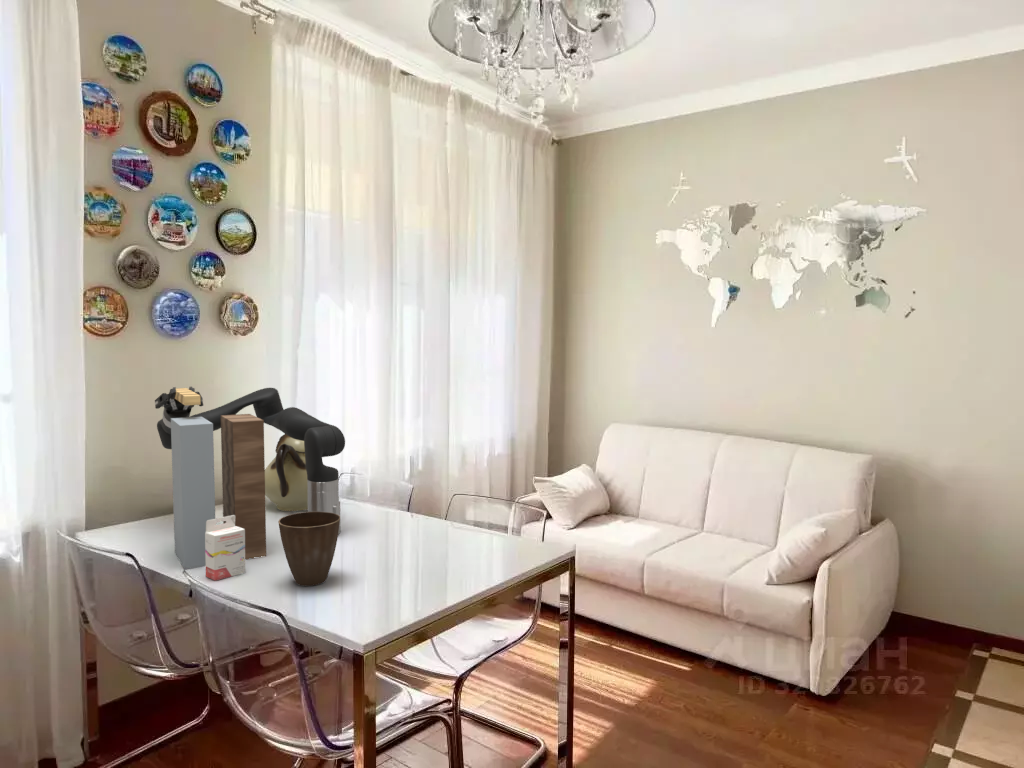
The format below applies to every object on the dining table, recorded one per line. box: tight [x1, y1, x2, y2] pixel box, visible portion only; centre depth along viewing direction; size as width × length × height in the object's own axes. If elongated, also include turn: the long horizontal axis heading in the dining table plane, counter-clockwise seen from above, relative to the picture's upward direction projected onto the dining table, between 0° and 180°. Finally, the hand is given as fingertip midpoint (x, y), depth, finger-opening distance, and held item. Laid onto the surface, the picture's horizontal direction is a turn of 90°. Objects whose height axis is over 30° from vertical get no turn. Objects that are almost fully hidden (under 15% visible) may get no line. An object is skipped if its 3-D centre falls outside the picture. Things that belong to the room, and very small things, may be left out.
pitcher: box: [265, 433, 308, 512], centre depth 254 cm, size 22×24×25 cm
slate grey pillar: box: [171, 417, 216, 570], centre depth 199 cm, size 16×8×38 cm, turn 33°
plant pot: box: [278, 511, 341, 587], centre depth 184 cm, size 15×15×16 cm
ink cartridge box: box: [205, 515, 246, 582], centre depth 187 cm, size 9×5×15 cm, turn 141°
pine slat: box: [175, 387, 201, 406], centre depth 210 cm, size 24×4×2 cm, turn 32°
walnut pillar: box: [220, 413, 267, 560], centre depth 206 cm, size 16×8×38 cm, turn 33°
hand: (183, 389), depth 214 cm, fingers closed on pine slat, 4 cm apart
